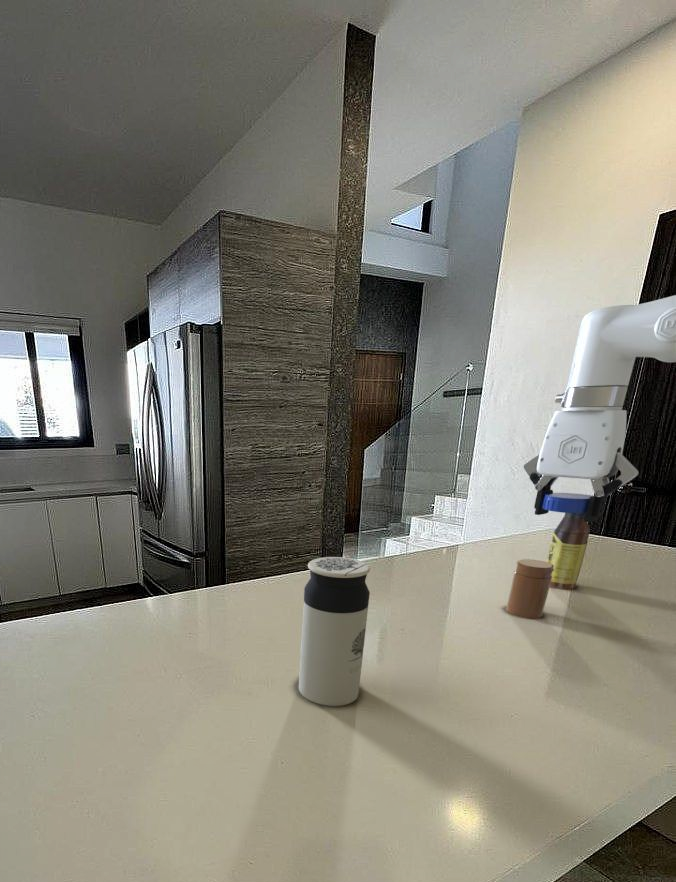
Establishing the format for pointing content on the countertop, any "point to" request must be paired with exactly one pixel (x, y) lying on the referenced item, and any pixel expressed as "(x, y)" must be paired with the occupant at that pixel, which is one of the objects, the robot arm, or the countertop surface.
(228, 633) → the countertop surface
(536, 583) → the jar
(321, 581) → the travel mug
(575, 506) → the lid
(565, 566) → the sauce bottle
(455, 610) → the countertop surface
